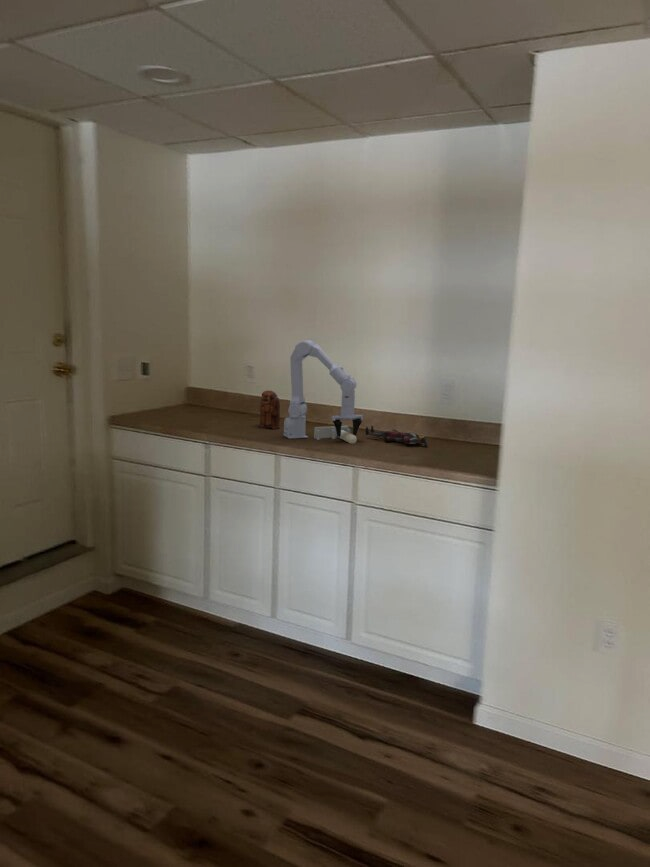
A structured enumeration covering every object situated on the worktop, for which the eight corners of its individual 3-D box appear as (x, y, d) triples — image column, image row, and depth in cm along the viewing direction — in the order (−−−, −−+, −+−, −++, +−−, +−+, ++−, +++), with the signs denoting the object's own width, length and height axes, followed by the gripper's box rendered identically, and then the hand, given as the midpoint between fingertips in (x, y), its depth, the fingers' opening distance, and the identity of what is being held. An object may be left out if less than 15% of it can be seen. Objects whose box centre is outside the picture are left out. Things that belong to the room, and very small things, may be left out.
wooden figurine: (255, 426, 319) (255, 390, 315) (263, 425, 324) (263, 388, 321) (275, 430, 313) (275, 392, 309) (282, 428, 318) (283, 391, 315)
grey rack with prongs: (317, 439, 293) (317, 429, 292) (314, 438, 297) (314, 427, 296) (350, 438, 300) (351, 427, 299) (347, 436, 303) (347, 425, 302)
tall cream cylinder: (355, 444, 289) (357, 436, 289) (347, 442, 287) (350, 434, 287) (344, 439, 300) (346, 430, 300) (336, 437, 298) (339, 429, 298)
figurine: (376, 424, 307) (434, 432, 290) (375, 436, 308) (433, 445, 291) (361, 428, 296) (421, 436, 279) (361, 440, 298) (420, 449, 280)
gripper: (336, 407, 283) (335, 438, 286) (366, 406, 289) (365, 436, 292) (330, 405, 290) (329, 435, 292) (359, 404, 295) (358, 433, 298)
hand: (346, 435), depth 292 cm, fingers open, 7 cm apart
